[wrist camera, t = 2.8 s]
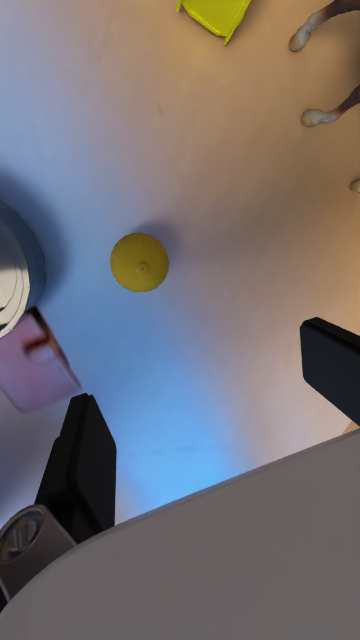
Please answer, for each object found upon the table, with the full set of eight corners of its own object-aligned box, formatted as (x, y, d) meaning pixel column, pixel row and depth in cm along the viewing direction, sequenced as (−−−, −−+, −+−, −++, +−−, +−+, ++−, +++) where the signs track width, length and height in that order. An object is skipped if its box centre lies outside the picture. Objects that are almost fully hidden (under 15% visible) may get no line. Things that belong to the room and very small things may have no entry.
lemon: (114, 228, 27) (111, 227, 19) (165, 237, 28) (181, 240, 21) (109, 280, 28) (105, 297, 21) (158, 286, 30) (170, 304, 22)
